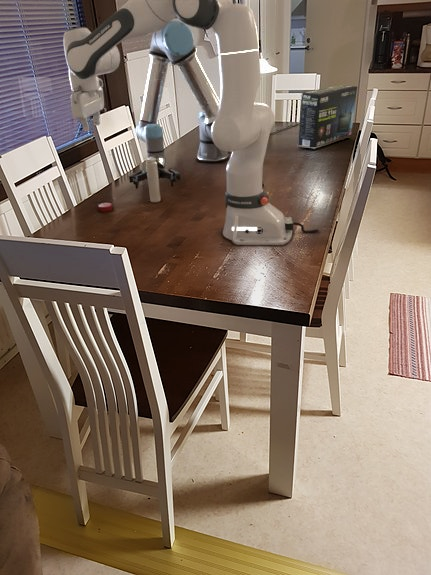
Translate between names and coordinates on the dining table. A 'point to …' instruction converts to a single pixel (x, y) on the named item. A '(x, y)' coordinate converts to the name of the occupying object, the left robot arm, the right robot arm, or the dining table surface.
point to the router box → (326, 115)
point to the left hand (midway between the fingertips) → (154, 184)
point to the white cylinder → (153, 180)
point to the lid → (105, 207)
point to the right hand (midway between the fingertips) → (92, 128)
